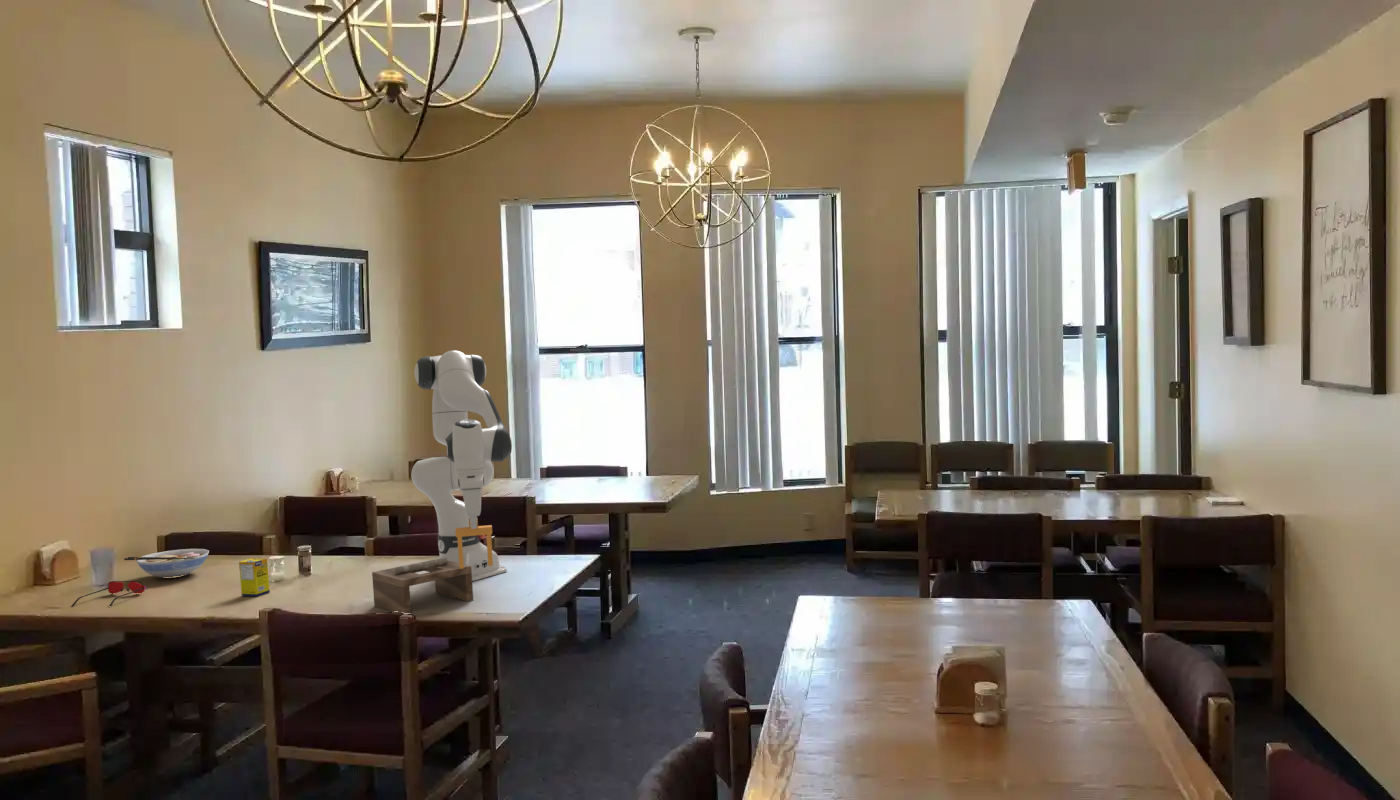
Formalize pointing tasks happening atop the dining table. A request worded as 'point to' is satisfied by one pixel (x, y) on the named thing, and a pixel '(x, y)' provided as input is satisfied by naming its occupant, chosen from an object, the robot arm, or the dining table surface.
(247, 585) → the supplement box
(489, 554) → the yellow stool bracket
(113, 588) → the glasses
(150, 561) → the ramen bowl
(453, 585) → the shelf
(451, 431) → the robot arm
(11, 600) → the dining table surface
